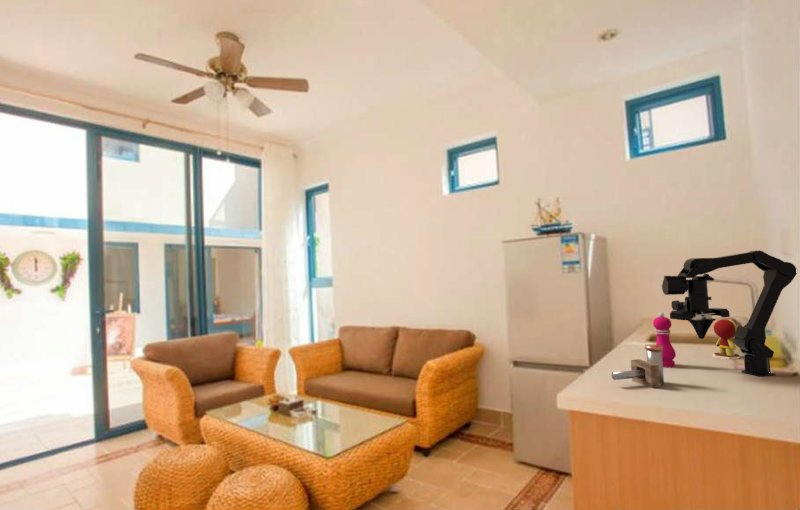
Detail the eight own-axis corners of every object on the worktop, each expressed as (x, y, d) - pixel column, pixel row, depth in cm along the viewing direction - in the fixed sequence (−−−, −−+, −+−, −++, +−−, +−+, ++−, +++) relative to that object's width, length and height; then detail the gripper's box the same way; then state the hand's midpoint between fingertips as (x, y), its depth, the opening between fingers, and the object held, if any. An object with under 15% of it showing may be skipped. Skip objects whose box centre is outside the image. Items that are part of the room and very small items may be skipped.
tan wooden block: (640, 380, 141) (638, 359, 142) (660, 387, 132) (658, 364, 133) (632, 380, 141) (630, 359, 141) (652, 388, 132) (650, 365, 132)
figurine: (747, 358, 163) (744, 319, 164) (722, 359, 163) (719, 321, 164) (730, 354, 172) (727, 317, 173) (706, 355, 172) (703, 318, 172)
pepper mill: (680, 367, 155) (676, 313, 156) (658, 367, 156) (654, 313, 157) (671, 363, 162) (667, 311, 163) (651, 363, 163) (647, 311, 164)
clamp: (657, 380, 140) (654, 344, 141) (669, 383, 135) (666, 346, 136) (609, 384, 138) (607, 348, 138) (619, 388, 133) (617, 350, 133)
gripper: (701, 291, 156) (704, 333, 155) (656, 294, 153) (659, 337, 153) (729, 292, 145) (732, 338, 144) (681, 295, 142) (684, 342, 142)
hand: (701, 338), depth 146 cm, fingers closed
